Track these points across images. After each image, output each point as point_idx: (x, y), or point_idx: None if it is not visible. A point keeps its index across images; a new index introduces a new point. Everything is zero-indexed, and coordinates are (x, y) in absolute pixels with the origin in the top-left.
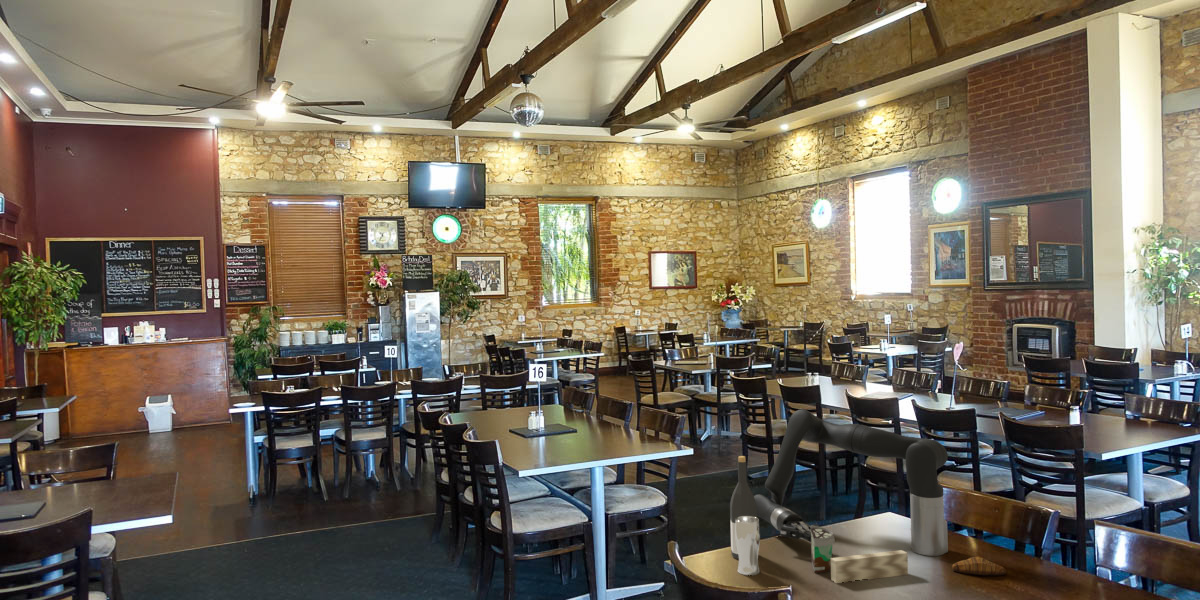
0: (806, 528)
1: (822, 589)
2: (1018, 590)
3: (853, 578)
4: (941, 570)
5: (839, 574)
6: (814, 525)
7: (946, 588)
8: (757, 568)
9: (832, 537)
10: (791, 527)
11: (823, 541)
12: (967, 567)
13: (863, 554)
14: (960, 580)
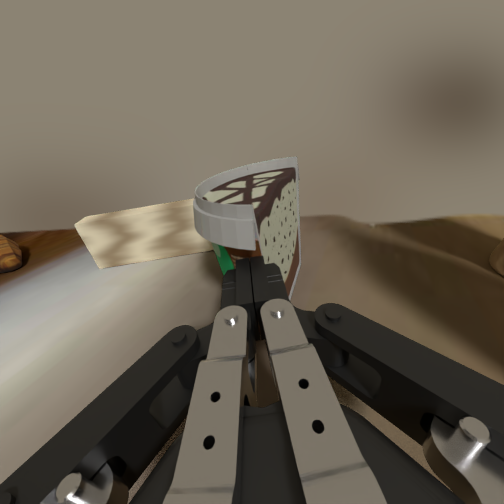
0: (226, 356)
1: (307, 217)
2: (48, 230)
3: None
4: (29, 272)
5: None
6: (57, 469)
7: None
8: (499, 245)
9: (223, 180)
10: (400, 462)
11: (268, 169)
12: (15, 247)
13: (179, 207)
14: (64, 245)
